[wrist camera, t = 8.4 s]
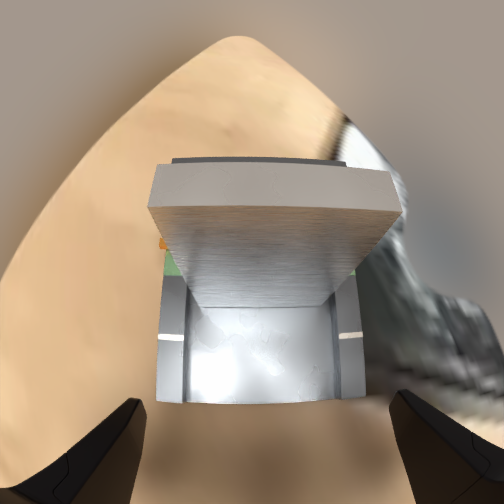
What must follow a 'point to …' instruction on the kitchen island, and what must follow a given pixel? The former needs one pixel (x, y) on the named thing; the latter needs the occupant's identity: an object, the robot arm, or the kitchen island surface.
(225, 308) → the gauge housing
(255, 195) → the block
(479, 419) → the kitchen island surface
